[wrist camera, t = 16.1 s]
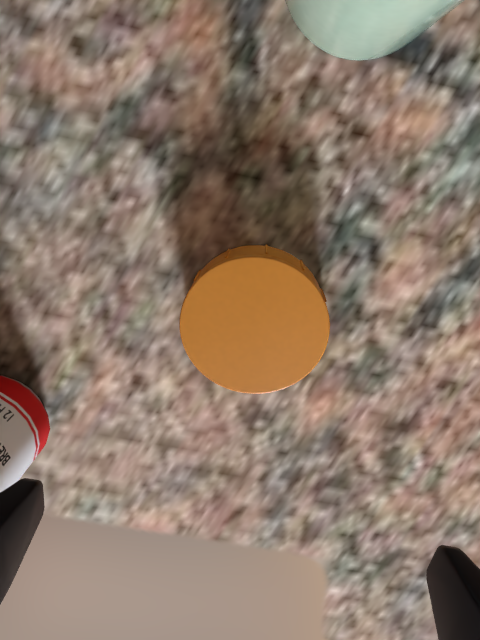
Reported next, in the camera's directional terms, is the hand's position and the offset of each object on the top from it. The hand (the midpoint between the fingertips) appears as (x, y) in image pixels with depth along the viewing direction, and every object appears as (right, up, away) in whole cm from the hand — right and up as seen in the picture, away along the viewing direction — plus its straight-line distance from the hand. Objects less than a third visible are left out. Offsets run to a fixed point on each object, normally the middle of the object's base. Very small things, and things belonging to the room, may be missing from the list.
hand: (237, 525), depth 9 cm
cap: (+1, +4, +10) cm, 11 cm away
